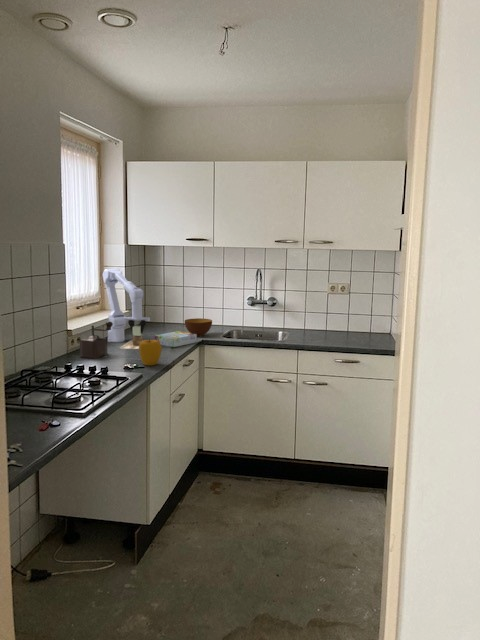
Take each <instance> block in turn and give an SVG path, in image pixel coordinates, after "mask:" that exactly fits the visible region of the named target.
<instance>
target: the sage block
mask: <svg viewBox="0 0 480 640" xmlns="http://www.w3.org/2000/svg"><path fill="white" fill-rule="evenodd" d="M132 336H143V333H142V334H141V325H134V326H133V333H132Z"/></svg>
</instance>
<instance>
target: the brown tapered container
mask: <svg viewBox="0 0 480 640" xmlns="http://www.w3.org/2000/svg"><path fill="white" fill-rule="evenodd" d="M105 326H106V328H105V329H102V328H95V326H94V325H91V333H92V334H91V335H90V336H87V337H86V338H82V339H79V356H80V358H87V359H93V360H96V359H99V358H102V357H106V356H107V355H108V337H100V336H99V335H96V334H95V332H94V331H100V332H106V331H107V332H108V330H111V327H112V326H113V323H112V322H110V321H109V320H108V321H106V322H105Z"/></svg>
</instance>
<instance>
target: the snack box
mask: <svg viewBox="0 0 480 640" xmlns="http://www.w3.org/2000/svg"><path fill="white" fill-rule="evenodd" d="M154 340H157V341H159V342H160V344H161V346H166V347H171V348H177V347H181V346H186V345H191V344H195V343H197V342H198V341H197V334H192V333H190V332H185V331H179V330H177V331H171V332H166V333H161V334H155V335H154Z"/></svg>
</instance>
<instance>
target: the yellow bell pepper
mask: <svg viewBox="0 0 480 640" xmlns="http://www.w3.org/2000/svg"><path fill="white" fill-rule="evenodd" d="M138 350H139V352H138V353H139V357H140V360H141V362H142V364H143V365H145V366H146V367H148V366H150V367H151V366H155V365H157V364H158V363H159V361H160V359H161V358H160V357H161V354H162V345H161V344H160V342H159V341H157V340H155V339H150V338H149V339H143V341H141V342H140V344H139V349H138Z"/></svg>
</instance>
